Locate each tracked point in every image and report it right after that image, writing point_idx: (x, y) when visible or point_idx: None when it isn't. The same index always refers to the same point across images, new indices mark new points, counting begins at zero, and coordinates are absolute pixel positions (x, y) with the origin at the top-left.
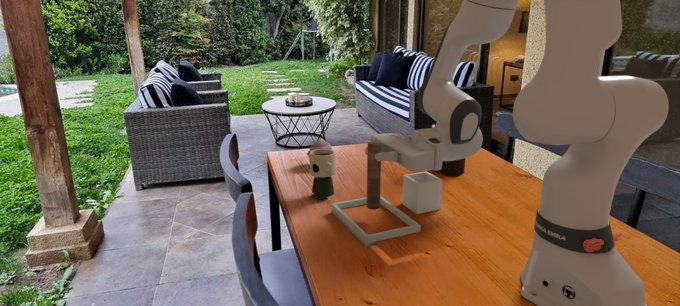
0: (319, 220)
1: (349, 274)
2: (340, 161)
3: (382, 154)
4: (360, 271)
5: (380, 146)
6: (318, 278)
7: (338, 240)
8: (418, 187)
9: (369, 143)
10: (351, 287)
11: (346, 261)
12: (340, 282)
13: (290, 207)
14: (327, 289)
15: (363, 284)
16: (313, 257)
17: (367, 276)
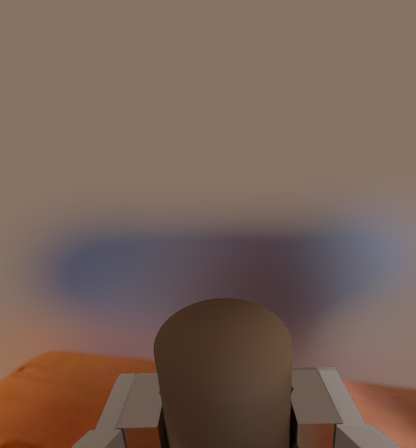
0: None
1: (49, 405)
2: None
3: (102, 417)
4: (34, 429)
5: (160, 384)
6: (87, 358)
7: None
8: None
9: (240, 309)
10: (20, 392)
11: (87, 418)
12: (48, 382)
13: (400, 389)
14: (55, 361)
15: (2, 415)
16: (145, 369)
17: (8, 435)
